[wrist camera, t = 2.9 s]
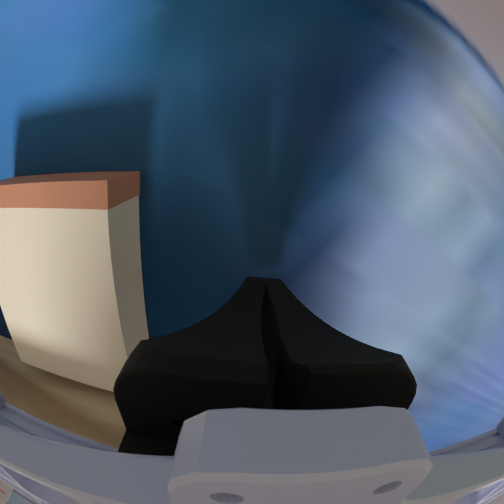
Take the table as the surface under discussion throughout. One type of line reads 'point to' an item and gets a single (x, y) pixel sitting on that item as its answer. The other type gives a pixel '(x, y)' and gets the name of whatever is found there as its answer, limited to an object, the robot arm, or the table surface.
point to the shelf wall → (59, 399)
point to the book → (73, 272)
